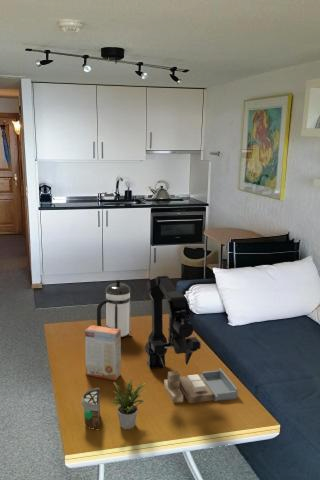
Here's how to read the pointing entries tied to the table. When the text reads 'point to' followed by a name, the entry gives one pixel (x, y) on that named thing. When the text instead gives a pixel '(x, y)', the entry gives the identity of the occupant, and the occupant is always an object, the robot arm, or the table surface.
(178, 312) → the robot arm
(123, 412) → the house plant
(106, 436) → the table surface
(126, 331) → the coffee press
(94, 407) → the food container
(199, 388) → the cream tile
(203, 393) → the tan flat block
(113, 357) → the cracker box
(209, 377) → the grey tray
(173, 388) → the beige l-shaped block
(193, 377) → the cream tile
